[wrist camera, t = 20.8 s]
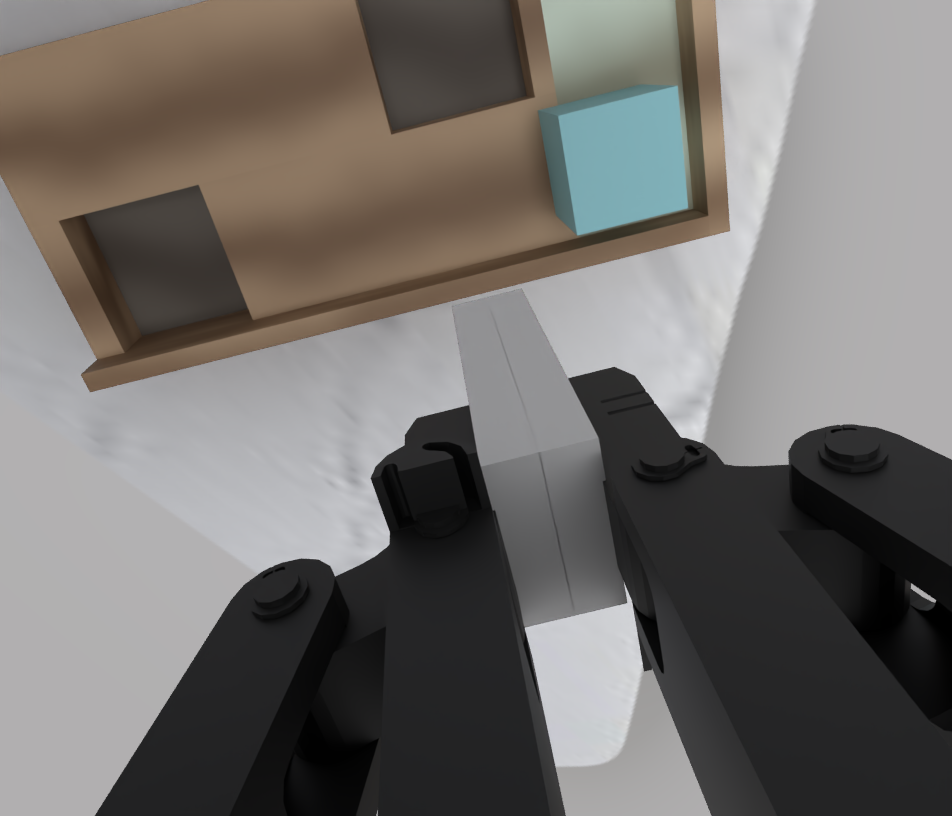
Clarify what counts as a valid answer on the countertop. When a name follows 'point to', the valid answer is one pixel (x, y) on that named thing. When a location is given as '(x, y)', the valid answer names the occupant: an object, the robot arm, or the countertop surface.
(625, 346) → the countertop surface
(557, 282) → the countertop surface
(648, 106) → the teal block
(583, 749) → the countertop surface
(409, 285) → the trap board
